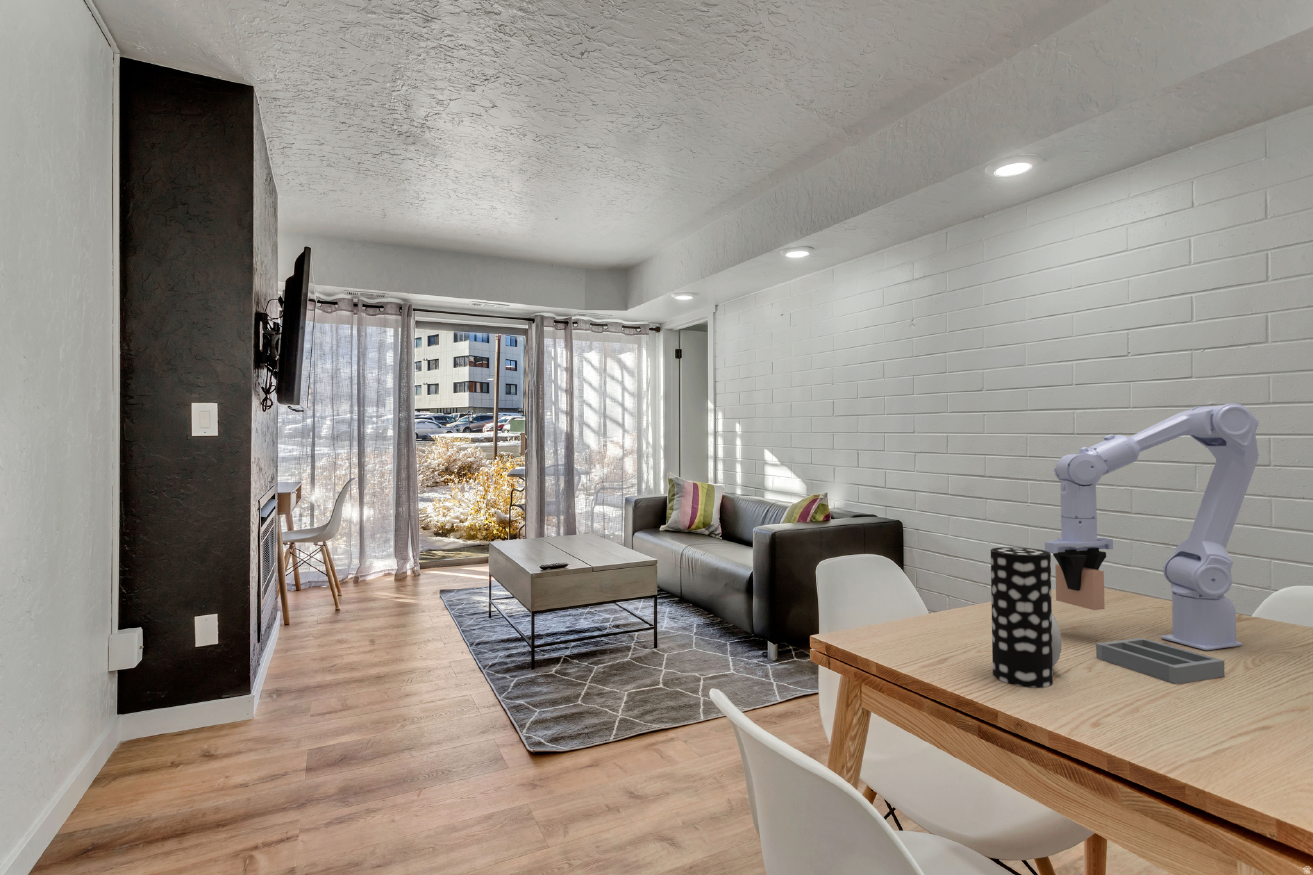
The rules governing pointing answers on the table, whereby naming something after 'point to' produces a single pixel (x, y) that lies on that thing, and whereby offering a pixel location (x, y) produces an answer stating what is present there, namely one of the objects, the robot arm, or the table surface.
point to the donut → (1055, 641)
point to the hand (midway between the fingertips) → (1080, 589)
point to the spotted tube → (1021, 616)
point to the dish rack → (1160, 660)
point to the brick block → (1082, 589)
